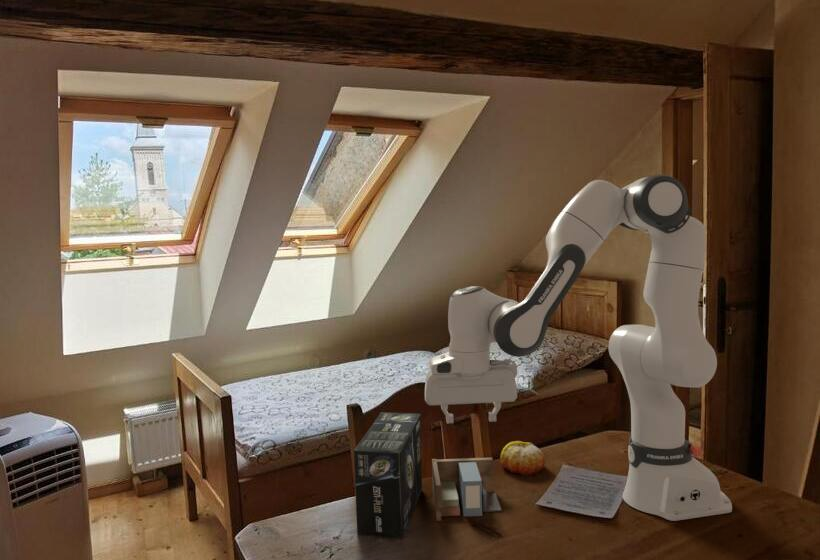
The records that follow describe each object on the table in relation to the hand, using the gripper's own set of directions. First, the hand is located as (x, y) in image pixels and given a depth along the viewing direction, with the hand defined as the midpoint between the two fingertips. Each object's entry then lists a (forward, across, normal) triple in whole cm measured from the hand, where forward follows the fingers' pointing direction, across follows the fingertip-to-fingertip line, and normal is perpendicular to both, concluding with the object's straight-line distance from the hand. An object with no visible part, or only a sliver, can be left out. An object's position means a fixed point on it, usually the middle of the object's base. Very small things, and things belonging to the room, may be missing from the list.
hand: (471, 421), depth 143 cm
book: (+19, +1, 0) cm, 19 cm away
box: (+19, +18, +2) cm, 27 cm away
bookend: (+19, -4, 0) cm, 20 cm away
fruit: (+20, -15, -18) cm, 31 cm away
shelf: (+19, +2, 0) cm, 19 cm away
